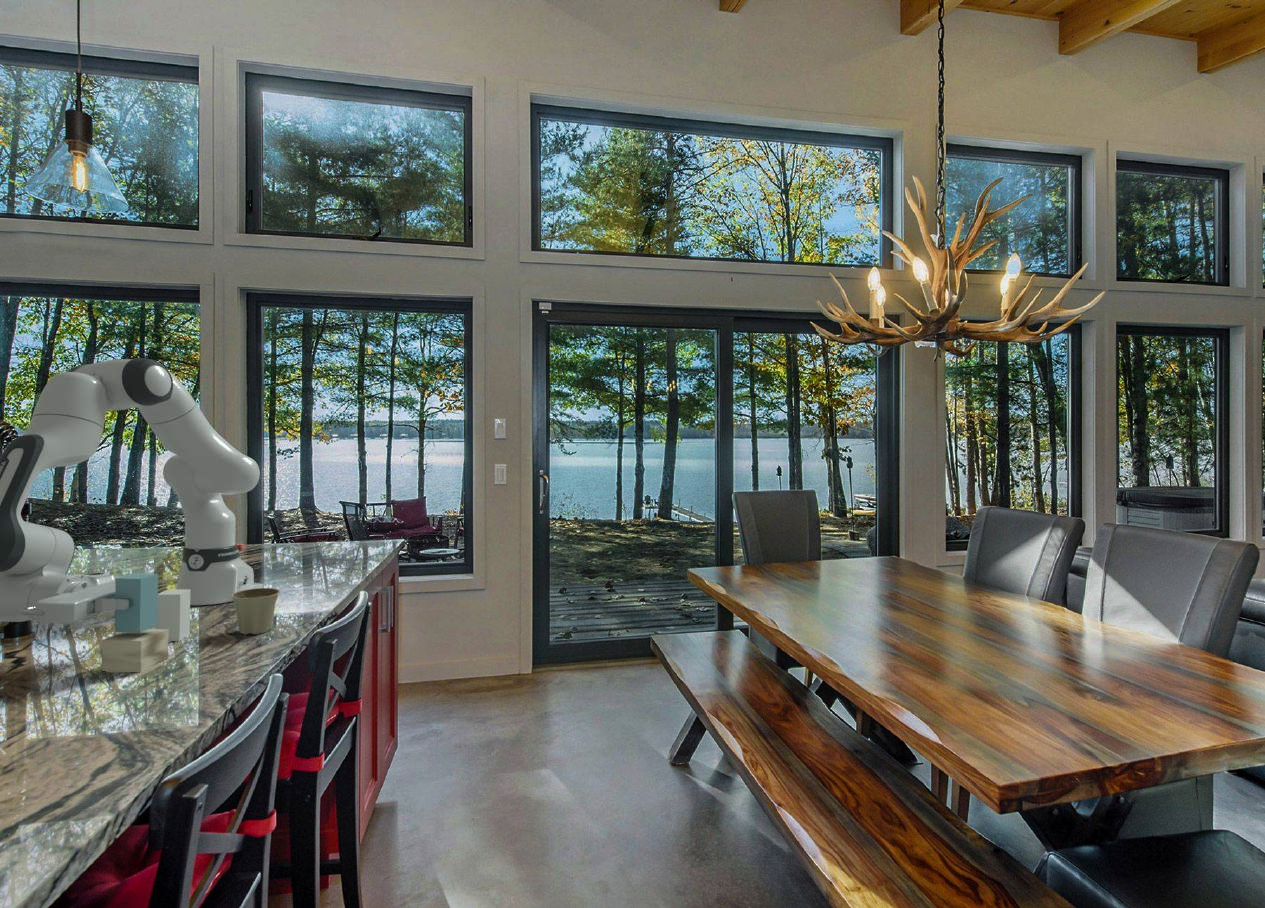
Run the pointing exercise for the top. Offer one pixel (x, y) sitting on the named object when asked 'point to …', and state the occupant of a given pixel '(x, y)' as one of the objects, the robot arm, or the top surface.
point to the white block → (174, 613)
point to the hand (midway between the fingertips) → (141, 599)
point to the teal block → (137, 602)
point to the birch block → (134, 650)
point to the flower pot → (255, 609)
